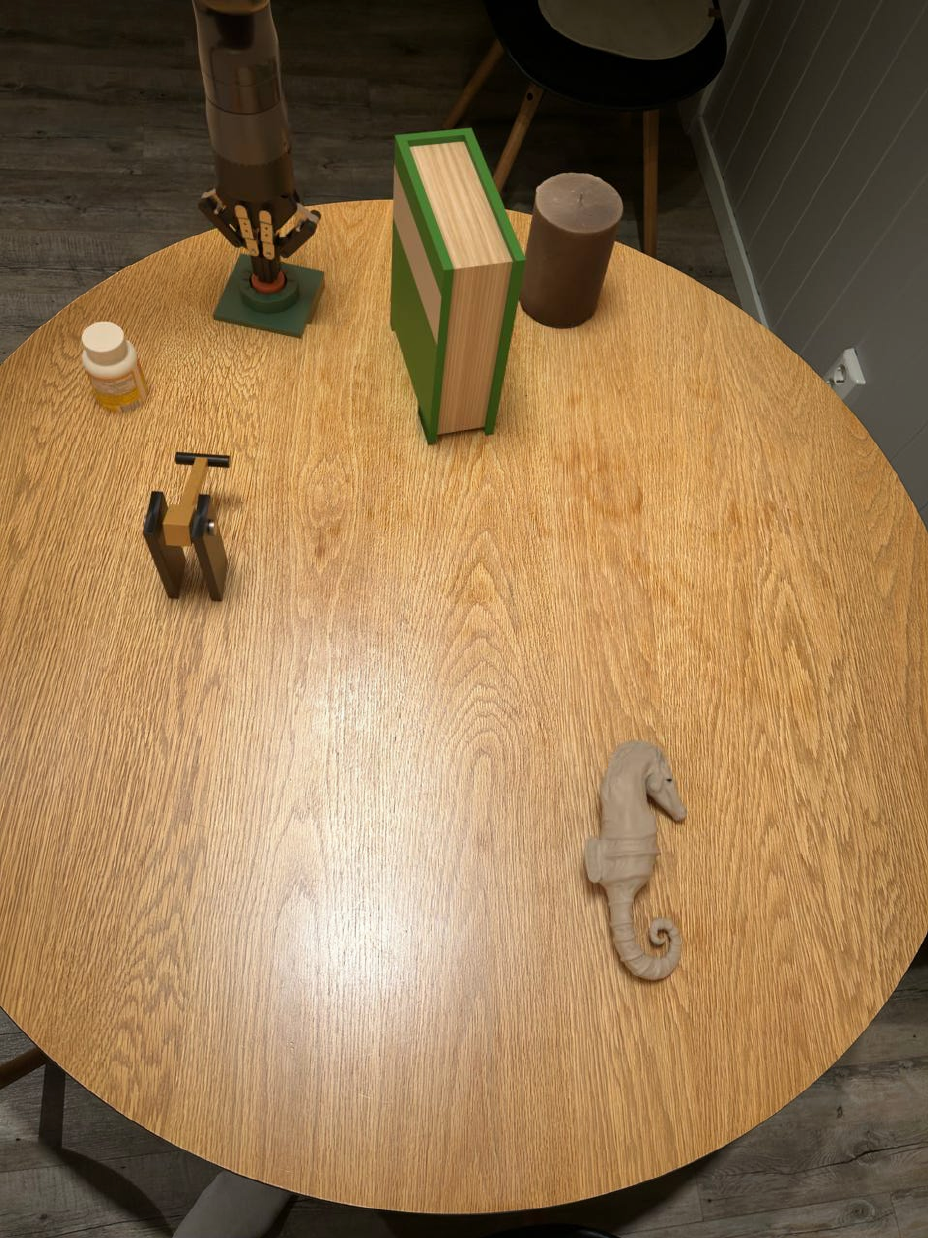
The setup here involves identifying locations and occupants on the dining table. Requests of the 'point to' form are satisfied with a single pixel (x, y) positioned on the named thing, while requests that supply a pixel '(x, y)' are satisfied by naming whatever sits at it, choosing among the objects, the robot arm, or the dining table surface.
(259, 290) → the button
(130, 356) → the supplement bottle
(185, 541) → the latch
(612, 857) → the seahorse
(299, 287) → the button box
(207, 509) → the bracket
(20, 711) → the dining table surface
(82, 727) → the dining table surface
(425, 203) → the hardback book
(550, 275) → the pillar candle
